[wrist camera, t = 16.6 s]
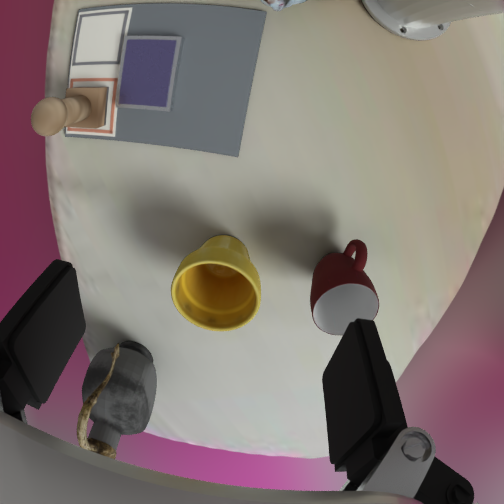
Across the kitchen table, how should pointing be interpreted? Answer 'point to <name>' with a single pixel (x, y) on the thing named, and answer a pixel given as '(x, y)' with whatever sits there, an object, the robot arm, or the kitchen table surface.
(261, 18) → the desk mat
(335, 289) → the mug
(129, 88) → the ink pad
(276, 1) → the lucky cat figurine
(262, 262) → the kitchen table surface
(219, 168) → the kitchen table surface
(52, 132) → the stamp
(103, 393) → the pitcher
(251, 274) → the plant pot
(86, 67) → the paper sheet
